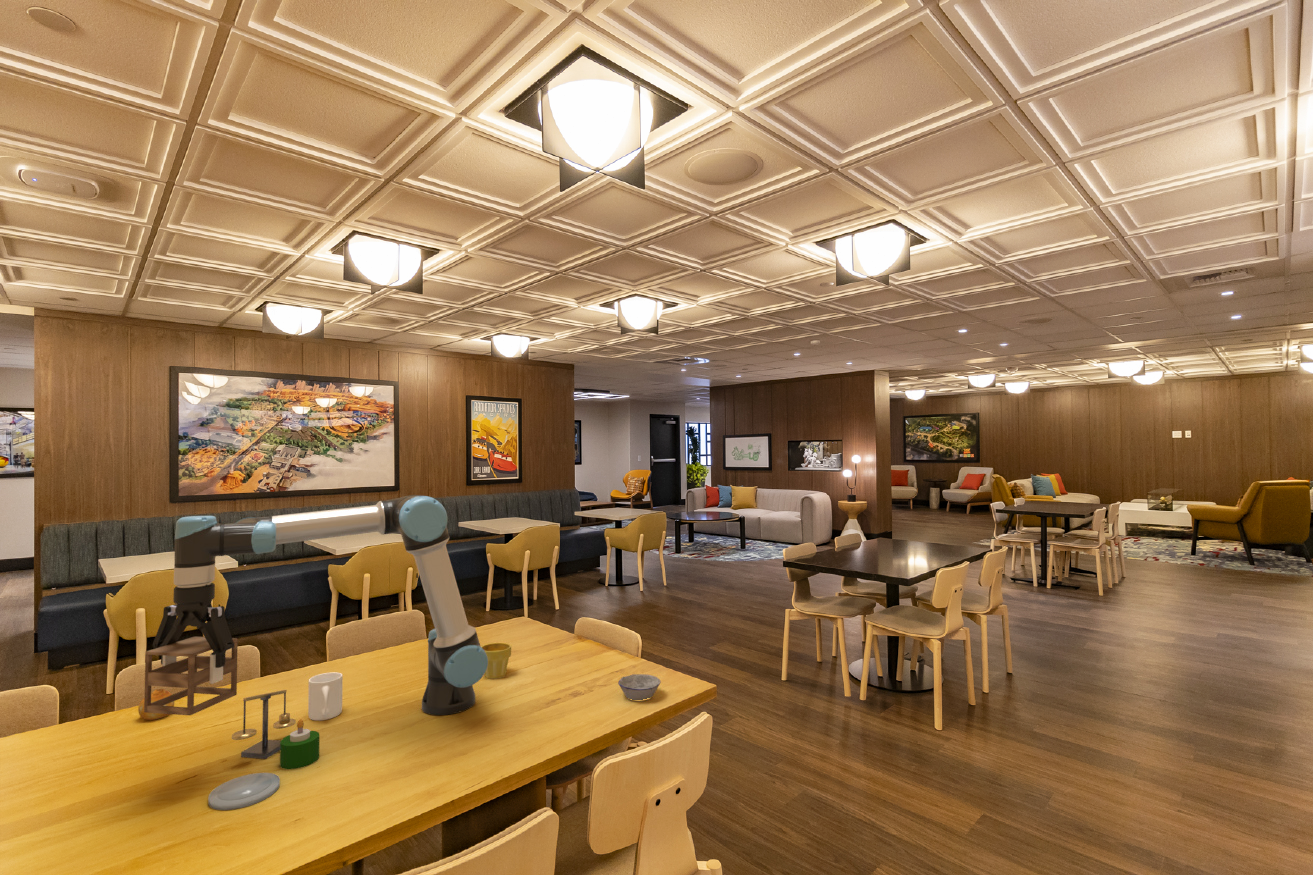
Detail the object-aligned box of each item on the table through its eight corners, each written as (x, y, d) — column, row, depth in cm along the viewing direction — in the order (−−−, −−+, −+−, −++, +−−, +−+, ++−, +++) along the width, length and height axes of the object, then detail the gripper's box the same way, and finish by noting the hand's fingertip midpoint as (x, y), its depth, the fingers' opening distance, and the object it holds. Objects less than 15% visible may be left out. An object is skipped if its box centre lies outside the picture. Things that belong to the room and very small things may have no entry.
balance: (303, 736, 162) (303, 676, 162) (247, 769, 144) (248, 702, 145) (280, 734, 163) (280, 675, 164) (222, 767, 145) (223, 701, 146)
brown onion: (178, 709, 175) (173, 682, 178) (141, 720, 169) (137, 692, 172) (175, 717, 180) (170, 690, 182) (139, 728, 174) (135, 701, 177)
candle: (291, 772, 143) (291, 729, 143) (273, 763, 147) (273, 721, 148) (326, 757, 150) (326, 716, 150) (307, 749, 154) (308, 709, 155)
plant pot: (517, 673, 208) (517, 644, 209) (494, 683, 200) (494, 652, 200) (496, 668, 214) (496, 640, 214) (473, 677, 205) (473, 648, 206)
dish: (293, 780, 139) (293, 774, 139) (246, 812, 126) (246, 806, 126) (243, 775, 141) (244, 770, 142) (192, 807, 129) (192, 800, 129)
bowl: (614, 703, 182) (614, 687, 182) (623, 687, 194) (623, 672, 195) (657, 705, 180) (657, 689, 180) (663, 689, 193) (663, 674, 193)
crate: (236, 694, 143) (237, 638, 144) (190, 715, 131) (191, 653, 132) (193, 692, 145) (194, 636, 146) (144, 712, 133) (145, 651, 134)
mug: (307, 728, 167) (307, 688, 167) (308, 712, 177) (309, 675, 178) (342, 721, 171) (342, 682, 171) (341, 706, 182) (342, 670, 182)
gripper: (254, 582, 141) (252, 677, 140) (165, 579, 145) (163, 672, 144) (226, 588, 134) (223, 689, 133) (133, 586, 138) (131, 683, 137)
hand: (192, 680), depth 138 cm, fingers closed on crate, 12 cm apart
